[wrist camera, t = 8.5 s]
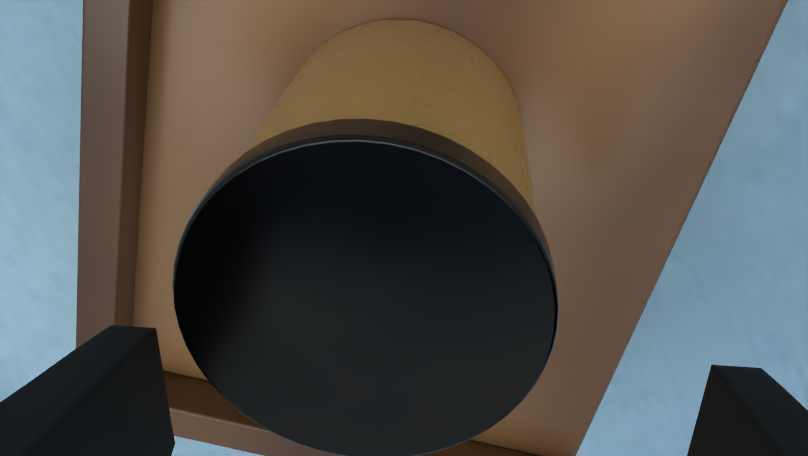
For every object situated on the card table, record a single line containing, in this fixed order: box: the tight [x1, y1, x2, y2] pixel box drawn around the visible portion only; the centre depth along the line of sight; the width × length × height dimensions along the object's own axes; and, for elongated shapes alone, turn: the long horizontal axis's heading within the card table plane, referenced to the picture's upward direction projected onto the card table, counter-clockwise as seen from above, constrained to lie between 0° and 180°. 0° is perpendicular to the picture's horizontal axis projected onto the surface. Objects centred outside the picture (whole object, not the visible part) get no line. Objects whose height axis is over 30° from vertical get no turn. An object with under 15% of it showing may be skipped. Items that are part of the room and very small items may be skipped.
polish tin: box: [172, 19, 559, 456], centre depth 12 cm, size 5×5×6 cm
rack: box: [76, 0, 788, 456], centre depth 16 cm, size 11×15×6 cm
